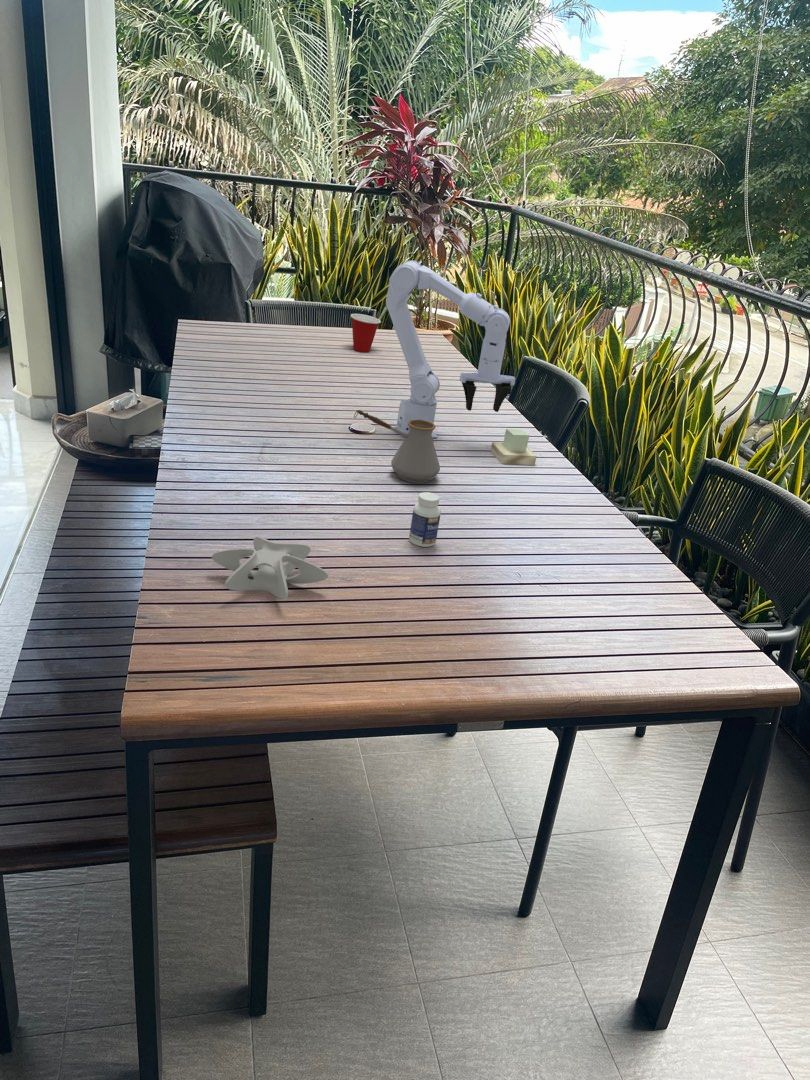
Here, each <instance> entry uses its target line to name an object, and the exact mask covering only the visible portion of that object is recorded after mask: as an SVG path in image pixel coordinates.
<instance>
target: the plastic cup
mask: <svg viewBox="0 0 810 1080" xmlns="http://www.w3.org/2000/svg"><path fill="white" fill-rule="evenodd" d="M350 318H351V327H352V347H353V350H354V351H355V352H358V353H370V351H371V348H372V345H373V341H374V339H375V336H376V333H377V332H376V331H377V329H378V327H379V325H380V323H382V321H381V319H379V318H377V317H374V316H371V315H368V314H362V313H351V314H350Z"/></svg>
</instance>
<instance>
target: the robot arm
mask: <svg viewBox="0 0 810 1080" xmlns="http://www.w3.org/2000/svg"><path fill="white" fill-rule="evenodd" d="M388 281H389V282H388V283H389V285H388V288H387V293H386V298H385V299H386V300H385V304H386V308H387V311H388V314H389V316H390V319H391V322H392V325H393V328H394V330H395V333H396V336H397V339H398V341H399V344H400V348H401V350H402V354H403V356H404V359H405V362H406V365H407V368H408V374H409V375H408V379H409V382H410V396H409V399H401V400H400V402H399V406H398V415H397V419H396V425H395V428H396V429H398V430H400V431H402V432H404V433H407V434H408V433H409V431H410V429H409V426H408V422H409V421H410V420H424V421H428V422H431V423H433V424H434V425H435V417H436V410H437V404H438V400H437V398H436V393H438V392H439V391H438V390H439V389H440V387H441V382H440V380H439V377H438V376H437V375H436V374H435V373H434V372H433V369H432V367H431V365H430V364H429V362H428V361H427V359H426V356H425V352H424V349H423V346H422V343H421V341H420V337H419V335H418V331H417V329H416V326H415V324H414V321H413V317H412V314H411V312H410V309H409V306H408V301H409V299H410V297H411V296H412V293H413V291H414V290H415V289H416V288H417V290H432V291H434V292H436V293H437V294H439V295H441V296H442V297H444V298H446V299H447V300H450V302H452V303H454V304H456V305H457V306H458V310H459V313H461V314H462V315H464V316H465V317H467V318H468V319H470V320H471V321H472V322H474V323H475V324H477V325H479V326H481V327H484V329H485V334H484V338H483V340H482V344H481V352H480V356H479V362H478V367H477V368H478V369H477V372H460V376H459V381H460V382H461V385H462V389H463V391H464V397H465V408H466V410H467V411H469V412H470V411H472V408H473V402H474V397H475V394H476V391H477V386H476V385H475V383H476V384H477V383H479V384H480V383H481V384H493V385H494V384H495V393H494V396H495V397H494V401H493V405H492V406H493V407H492V410H493V411H494V412H495V413H498V412H499V411H500V408H501V406H502V404H503V403H504V401H505V399H506V397H507V396H508V395H509V394H510V393H511V391H512V387H513V386H515V384H516V377H515V376H512V375H507V374H506V375H504V374H501V370H502V365H503V360H504V359H503V358H504V355H505V349H506V343H507V342H506V340H507V332H508V331H509V327H510V323H511V318H510V315H509V314H508V312H506V310H505V309H503V308H499V307H498V305H496V304H494V305H493V304H491V303H490V302H488V301H487V300H485V299H484V298H482V296H483V294H481V293H479V292H477V293H474V292H468V293H465V292H463V291H462V290H461V289H459V288H458V287H457V286H455V285H453V284H452V283H451V282H449V281H448V280H447V279H445V278H444V277H443V276H441V275H440V274H439V273H437V272H436V271H434V270H432V268H430V267H428V266H425V265H422V264H421V263H420V262H419V261H417V260H407V261H404V262H403V263H402V264H400V265H398V266H397V267H396V268H395V269H394V270H393V272H392V274H391V275H390V277H389V279H388ZM431 435H432V439H436V438H438V435H437V434H436V433H435V431H433V432H432V434H431Z"/></svg>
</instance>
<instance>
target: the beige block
mask: <svg viewBox="0 0 810 1080" xmlns="http://www.w3.org/2000/svg"><path fill="white" fill-rule="evenodd" d="M490 453H492V454H493V456H494V457H495V458H496V459H497V460H498V461H499V462H500V464H501V463H502V464H501V465H515V464H518V465H519V464H520V465H521V466H535V465H536V461H537V455H536V454H535V453H534V452H533V451H532V450H531V448H530V447H528V446H527V449H526V452H510V451H509V450H508V449H507V448H506V447H504V446H503V442H499V441H498V442H496V441H492V442H491V446H490Z"/></svg>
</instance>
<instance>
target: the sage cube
mask: <svg viewBox="0 0 810 1080" xmlns="http://www.w3.org/2000/svg"><path fill="white" fill-rule="evenodd" d="M529 438H530V434H529V433H527V431H525V430H524V429H522V428H505V433H504V439H503V442H502V443H503V446H504V447H506V448H507V449H508V450H509V451H510V452H526V449H527V447H528V443H529Z"/></svg>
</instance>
